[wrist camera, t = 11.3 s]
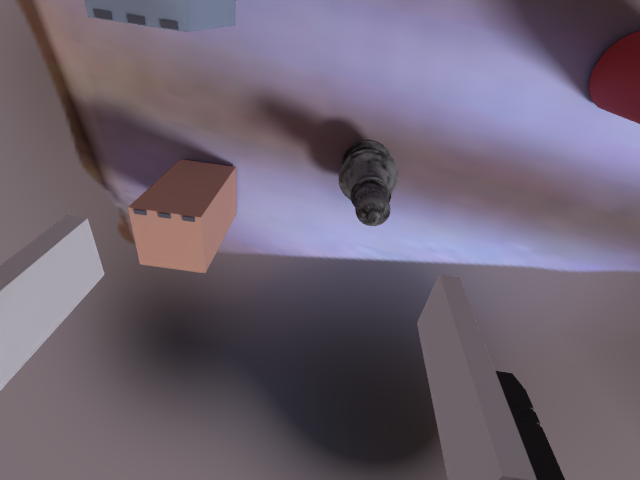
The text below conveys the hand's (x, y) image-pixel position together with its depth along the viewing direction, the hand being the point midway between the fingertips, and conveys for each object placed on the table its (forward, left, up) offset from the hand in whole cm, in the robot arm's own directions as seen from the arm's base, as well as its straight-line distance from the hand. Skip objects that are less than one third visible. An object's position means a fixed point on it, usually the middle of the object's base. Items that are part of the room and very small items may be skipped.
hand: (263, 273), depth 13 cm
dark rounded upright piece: (+5, +6, -25) cm, 27 cm away
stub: (+10, -11, -25) cm, 29 cm away
